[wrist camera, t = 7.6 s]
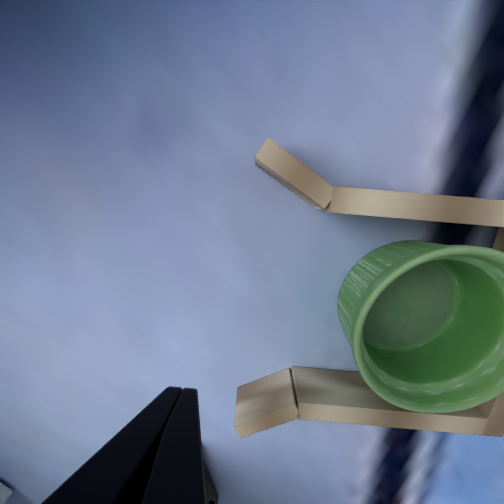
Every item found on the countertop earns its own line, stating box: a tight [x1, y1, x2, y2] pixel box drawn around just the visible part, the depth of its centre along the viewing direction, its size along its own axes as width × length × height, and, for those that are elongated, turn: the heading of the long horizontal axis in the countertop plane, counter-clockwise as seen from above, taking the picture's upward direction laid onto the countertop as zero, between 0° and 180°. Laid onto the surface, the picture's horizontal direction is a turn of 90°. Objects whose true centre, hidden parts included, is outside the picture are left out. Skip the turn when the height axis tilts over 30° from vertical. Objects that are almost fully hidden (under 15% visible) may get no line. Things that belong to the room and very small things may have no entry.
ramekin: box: [338, 240, 504, 413], centre depth 14 cm, size 9×9×4 cm
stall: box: [234, 138, 504, 438], centre depth 14 cm, size 16×17×3 cm
